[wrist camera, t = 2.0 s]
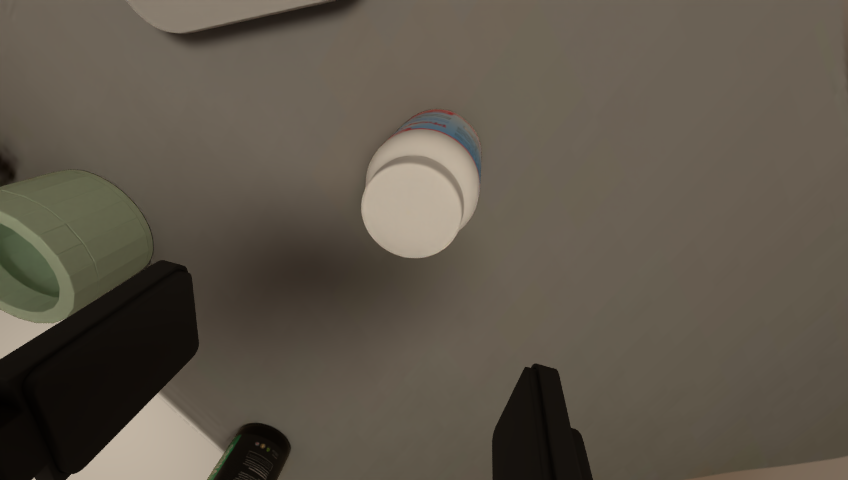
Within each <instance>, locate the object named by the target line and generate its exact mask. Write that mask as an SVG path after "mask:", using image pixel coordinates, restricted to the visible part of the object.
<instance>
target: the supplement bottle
mask: <svg viewBox="0 0 848 480" xmlns="http://www.w3.org/2000/svg"><path fill="white" fill-rule="evenodd" d="M289 452H290V447H289V443H288V441H287V439H286V438H285V437H284V436H283V435H282V434H281V433H280V432H279V431H277V430H275V429H273V428H271V427H269V426H266V425H262V424H250V425H247V426H244V427H243V428H241V429H240V430H239V431H238V433H237V434H236V436H235V437H234V439H233V440H232V442H231V443H230V445H229V446H228V448H227V449H226V451H225V452H224V454H223V456H222V457H221V459H220V460H219V462H218V463H217V465H216V466H215V468H214V469H213V471H212V473H211V474H210V476H209V477H208V479H207V480H277V479H278V477H279V475H280V473H281V471H282V468H283V466H284V464H285V462H286V460H287V458H288V456H289Z"/></svg>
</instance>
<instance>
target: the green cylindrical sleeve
mask: <svg viewBox="0 0 848 480" xmlns="http://www.w3.org/2000/svg"><path fill="white" fill-rule="evenodd" d="M152 253H153V239H152V235H151V232H150V229H149V226H148V224H147V222H146V220H145V218H144V216H143V215H142V213H141V212H140V210H139V209H138V208H137V206H136V205H135V204H134V203H133V202H132V201H131V199H130V198H129V197H128V196H127V195H126V194H124V193H123V192H122V191H121V190H120V189H118V188H117V187H116V186H115V185H113V184H112V183H110V182H109V181H107V180H105V179H103V178H101V177H99V176H97V175H95V174H92V173H89V172H86V171H81V170H71V169H70V170H63V171H59V172H52V173H49V174H45V175H41V176H38V177H34V178H30V179H27V180H23V181H20V182H16V183H12V184H9V185H5V186H2V187H0V310H2V311H4V312H6V313H9V314H10V315H13V316H15V317H17V318H20V319H23V320H27V321H31V322H34V323H55V322H58V321H61V320H63V319H66V318H67V317H69V316H70V315H72V314H74V313H75V312H77V311H78V310H80V309H81V308H83V307H85V306H86V305H88V304H89V303H91V302H92V301H94V300H96V299H97V298H99V297H100V296H102V295H103V294H105V293H107V292H108V291H110V290H111V289H113V288H114V287H116V286H118V285H119V284H121V283H122V282H124V281H126V280H127V279H129V278H130V277H132V276H133V275H135V274H137V273H138V272H139V271H140V270H142V269H143V268H144V267H145V266H146V265H147V264H148V263H149V261H150V259H151V257H152Z"/></svg>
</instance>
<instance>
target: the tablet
mask: <svg viewBox="0 0 848 480" xmlns="http://www.w3.org/2000/svg"><path fill="white" fill-rule="evenodd" d="M126 1H127V2H128V3H129V4H130V6H131V7H132V8H133V9H134V10H135V11H136V12H137V14H138V15H139V16H141V17H142V18H143V19H144V20H145V21H147V22H148V23H150V24H151V25H153V26H154V27H156V28H158V29H161V30H163V31H167V32H170V33H183V34H187V33H194V32H199V31H203V30H208V29H212V28H217V27H221V26H225V25H230V24H234V23H239V22H243V21H248V20H252V19H257V18H261V17H266V16H270V15H275V14H279V13H283V12H288V11H292V10H297V9H301V8H306V7H310V6H315V5H319V4H324V3H328V2H332V1H336V0H126Z"/></svg>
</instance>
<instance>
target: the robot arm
mask: <svg viewBox="0 0 848 480" xmlns="http://www.w3.org/2000/svg"><path fill="white" fill-rule="evenodd" d="M198 346H199V340H198V331H197V321H196V312H195V303H194V293H193V284H192V277H191V274H190V273H188V271H187V268H186V267H185V266H182V265H179V264H175V263H172V262H168V261H165V260H162V261H158V262H156V263H154V264H153V265H151V266H150V267H148V268H146V269H145V270H143V271H142V272H140V273H138V274H137V275H135V276H134V277H132V278H130V279H129V280H127V281H125V282H124V283H122V284H121V285H119V286H117V287H116V288H114V289H113V290H111V291H109V292H108V293H106V294H105V295H103V296H101V297H100V298H98V299H97V300H95V301H93V302H92V303H90V304H88V305H87V306H85V307H84V308H82V309H80V310H79V311H77V312H76V313H74V314H72V315H71V316H69V317H68V318H66V319H64V320H63V321H61V322H60V323H58V324H56V325H55V326H53V327H52V328H50V329H48V330H47V331H45V332H44V333H42V334H40V335H39V336H37V337H35V338H34V339H32V340H31V341H29V342H27V343H26V344H24V345H23V346H21V347H19V348H18V349H16V350H15V351H13V352H11V353H10V354H8V355H7V356H5V357H3V358H2V359H0V480H32V479H33V478H34V477H35V479H36V480H66V479H67V478H68V477H69V476H70V475H71V474H75V473H77V472H79V471H81V470H82V469H83V468H84V467H85V466H86V465H87V464H88V463H89V462H90V461H91V460H92V459H93V458H94V457H95V456H96V455H97V454H98V453H99V452H100V451H101V450H102V449H103V448H104V447H105V446H106V445H107V444H108V443H109V442H110V441H111V440H112V439H113V438H114V437H115V436H116V435H117V434H118V433H119V432H120V431H121V430H122V429H123V428H124V427H125V426H126V425H127V424H128V423H129V422H130V421H131V420H132V419H133V418H134V417H135V416H136V415H137V414H138V413H139V411H140V410H141V409H142V408H143V407H144V406H145V405H146V404H147V403H148V402H149V401H150V400H151V399H152V398H153V397H154V396H155V395H156V394H157V393H158V392H159V391H160V390H161V389H162V388H163V387H164V386H165V385H166V384H167V383H168V382H169V381H170V380H171V379H172V378H173V377H174V376H175V375H176V374H177V373H178V372H179V371H180V370H181V369H182V368H183V367H184V366H185V365H186V364H187V363H188V362H189V361H190V359H191V358H192V357H193V356H194V355H195V353H196V352H197V350H198ZM492 467H493V480H593V478H592V474H591V470H590V466H589V462H588V458H587V454H586V450H585V446H584V442H583V439H582V436H581V434H580V433H579V431H578V430H576V429H573V428H571V426H570V422H569V417H568V413H567V408H566V404H565V399H564V395H563V390H562V386H561V381H560V377H559V373H558V371H557V370H556V369H554V368H550V367H546V366H543V365H539V364H533V365H532V367H531V368H529V367H525V368H524V370H523V372H522V374H521V376H520V378H519V380H518V382H517V384H516V386H515V388H514V390H513V392H512V394H511V397H510V399H509V401H508V403H507V405H506V407H505V409H504V411H503V413H502V415H501V417H500V419H499V421H498V423H497V425H496V427H495V430H494V433H493V439H492Z"/></svg>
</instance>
